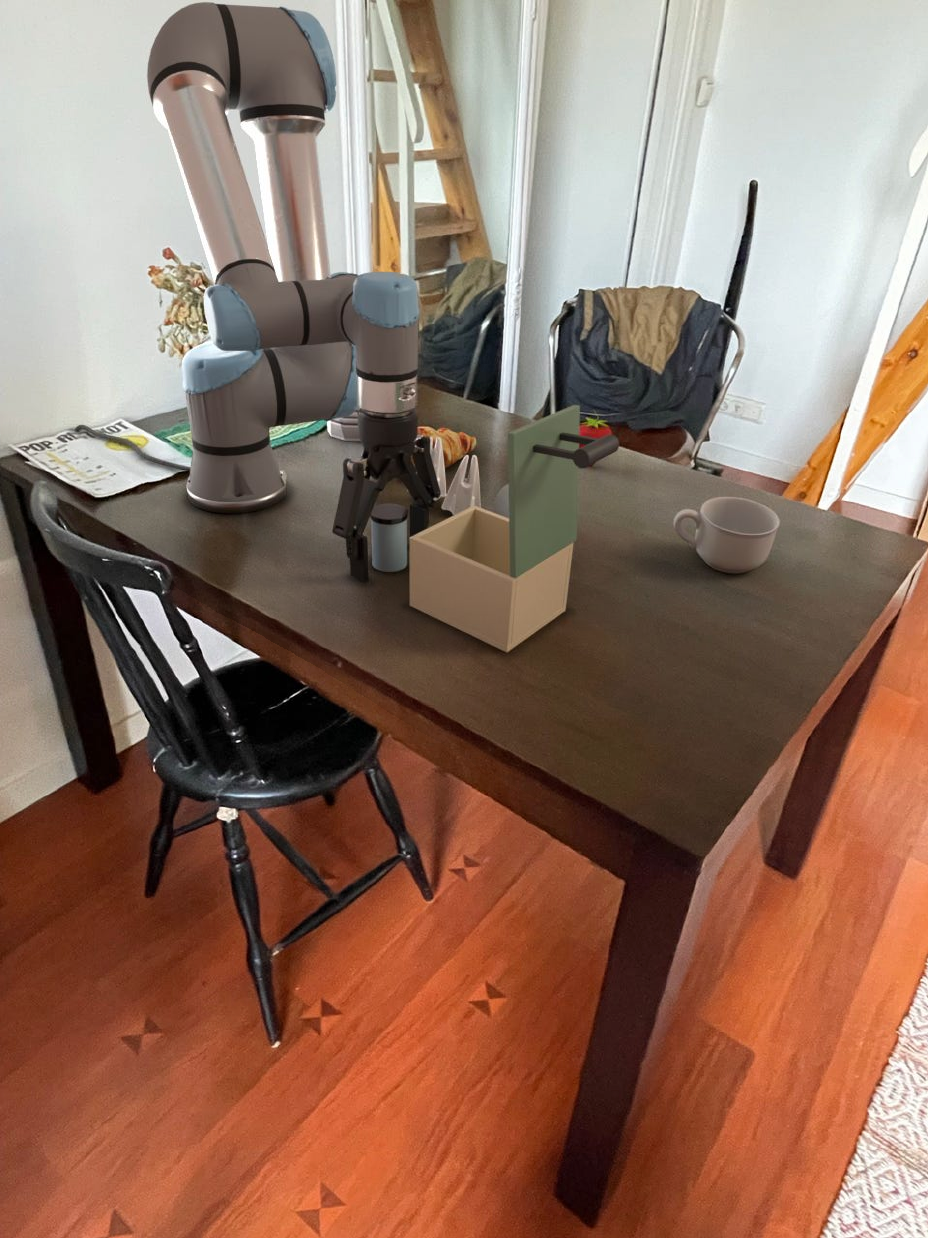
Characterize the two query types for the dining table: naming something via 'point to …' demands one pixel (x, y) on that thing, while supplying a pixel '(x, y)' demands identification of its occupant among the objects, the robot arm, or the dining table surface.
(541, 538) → the lid
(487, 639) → the tan storage tray
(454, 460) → the croissant
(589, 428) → the strawberry
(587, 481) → the dining table surface
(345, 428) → the can
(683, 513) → the teacup
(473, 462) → the shaker set
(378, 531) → the coffee tin
